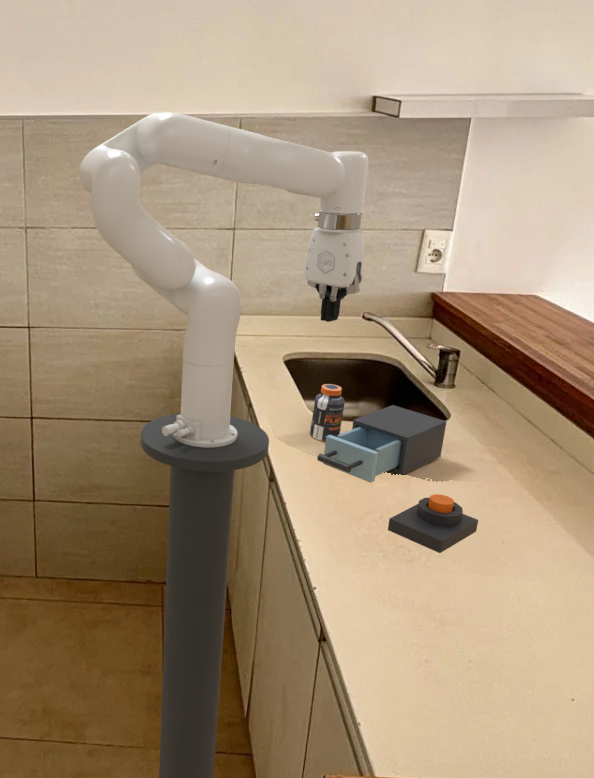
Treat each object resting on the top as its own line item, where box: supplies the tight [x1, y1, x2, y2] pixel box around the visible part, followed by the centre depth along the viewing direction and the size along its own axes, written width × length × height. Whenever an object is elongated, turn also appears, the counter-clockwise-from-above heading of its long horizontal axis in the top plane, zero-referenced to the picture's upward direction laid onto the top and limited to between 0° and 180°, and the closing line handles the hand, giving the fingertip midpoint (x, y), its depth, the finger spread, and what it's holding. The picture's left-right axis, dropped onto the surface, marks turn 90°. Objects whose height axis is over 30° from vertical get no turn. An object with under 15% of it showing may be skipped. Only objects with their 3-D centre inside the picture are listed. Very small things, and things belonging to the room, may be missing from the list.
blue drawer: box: [316, 426, 403, 484], centre depth 144 cm, size 17×10×6 cm, turn 127°
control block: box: [387, 496, 479, 554], centre depth 124 cm, size 11×9×4 cm
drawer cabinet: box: [351, 404, 448, 476], centre depth 151 cm, size 14×12×8 cm
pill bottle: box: [309, 383, 346, 442], centre depth 160 cm, size 6×6×11 cm
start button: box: [428, 493, 455, 513], centre depth 124 cm, size 4×4×2 cm
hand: (329, 319), depth 146 cm, fingers closed
